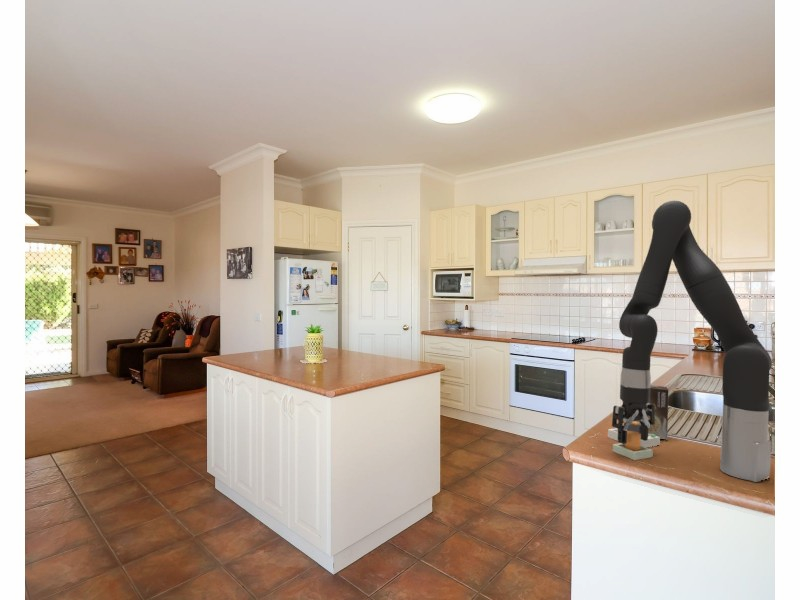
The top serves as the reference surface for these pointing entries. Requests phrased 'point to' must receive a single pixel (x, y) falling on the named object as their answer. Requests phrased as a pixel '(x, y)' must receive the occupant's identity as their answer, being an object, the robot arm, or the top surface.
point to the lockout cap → (633, 441)
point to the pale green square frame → (631, 454)
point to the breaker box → (650, 442)
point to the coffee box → (659, 411)
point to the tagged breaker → (634, 426)
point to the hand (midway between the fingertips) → (632, 441)
